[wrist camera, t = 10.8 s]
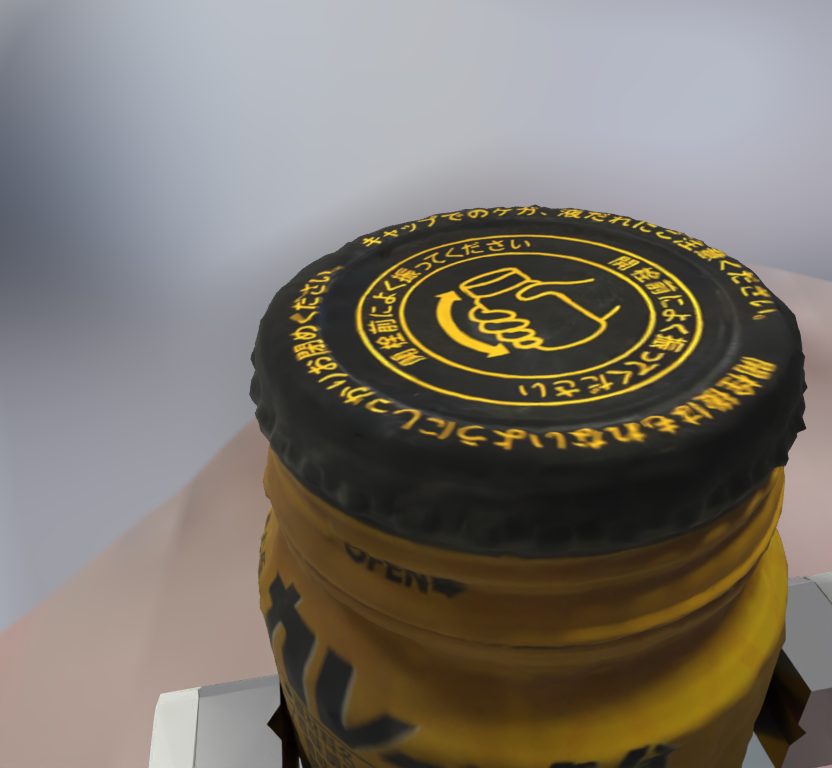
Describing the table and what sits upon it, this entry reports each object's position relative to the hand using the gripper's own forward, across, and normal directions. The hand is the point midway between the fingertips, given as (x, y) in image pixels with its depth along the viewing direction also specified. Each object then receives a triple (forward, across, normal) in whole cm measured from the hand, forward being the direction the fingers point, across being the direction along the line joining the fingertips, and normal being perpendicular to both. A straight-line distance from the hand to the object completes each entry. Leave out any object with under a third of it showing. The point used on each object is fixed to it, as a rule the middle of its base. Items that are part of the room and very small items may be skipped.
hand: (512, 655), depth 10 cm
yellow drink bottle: (-1, -1, -7) cm, 7 cm away
